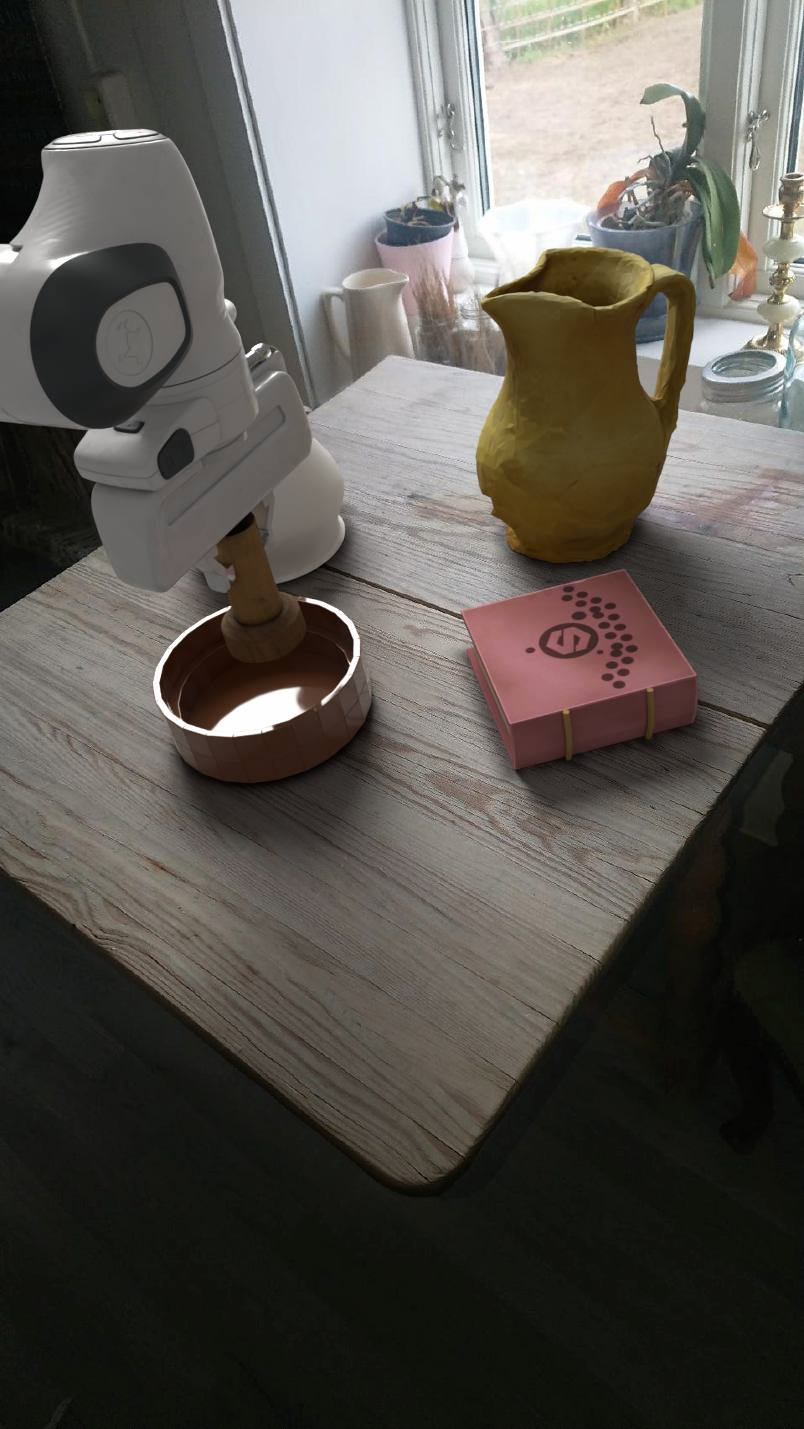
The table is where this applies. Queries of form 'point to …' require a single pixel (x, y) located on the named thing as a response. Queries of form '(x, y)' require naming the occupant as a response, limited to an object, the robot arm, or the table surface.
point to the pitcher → (581, 401)
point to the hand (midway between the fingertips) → (243, 567)
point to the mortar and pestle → (256, 600)
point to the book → (578, 669)
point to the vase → (305, 512)
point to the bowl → (264, 698)
